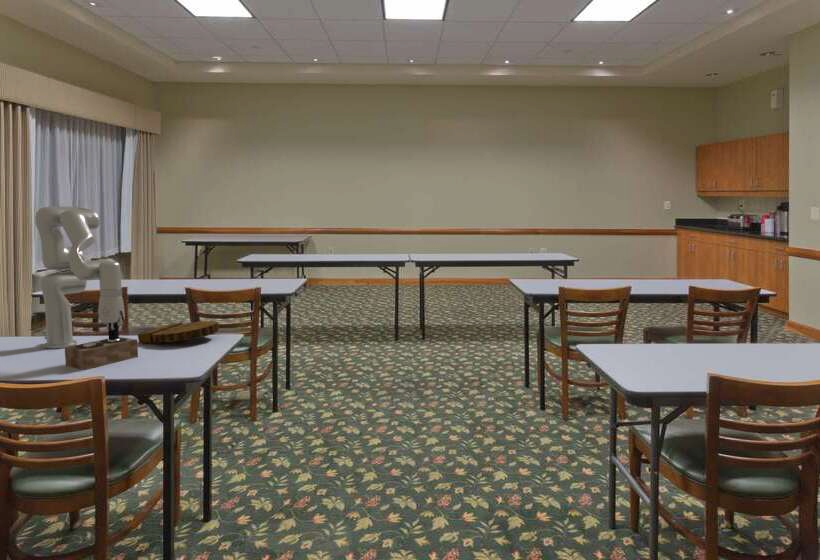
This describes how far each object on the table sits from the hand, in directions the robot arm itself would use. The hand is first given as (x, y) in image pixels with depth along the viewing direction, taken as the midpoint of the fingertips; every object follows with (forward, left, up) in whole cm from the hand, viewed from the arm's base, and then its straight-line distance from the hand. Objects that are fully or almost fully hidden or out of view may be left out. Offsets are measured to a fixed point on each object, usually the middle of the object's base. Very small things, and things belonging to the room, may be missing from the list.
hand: (113, 339), depth 231 cm
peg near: (0, -10, -8) cm, 13 cm away
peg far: (0, 0, -8) cm, 8 cm away
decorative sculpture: (-3, +37, -8) cm, 38 cm away
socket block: (0, -5, -8) cm, 9 cm away
